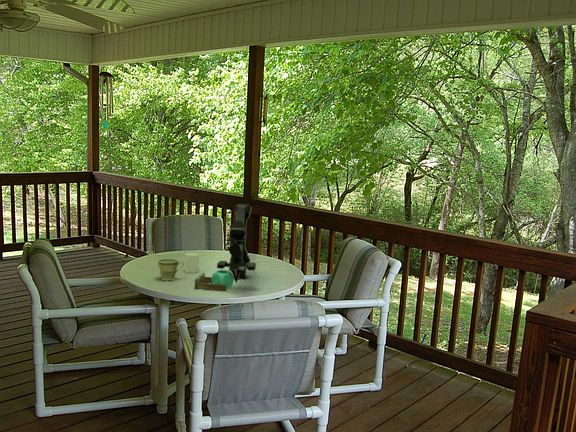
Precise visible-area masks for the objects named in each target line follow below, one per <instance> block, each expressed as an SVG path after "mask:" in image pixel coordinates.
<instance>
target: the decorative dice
mask: <svg viewBox="0 0 576 432" xmlns="http://www.w3.org/2000/svg"><path fill="white" fill-rule="evenodd" d="M211 277H212V278H211V281H212V284H223V285H227V289H226V290H229V289H230V288H232V286H233V285H234V282H235V280H234V276H233V274H232V272H231V271H229V270H226V269H217V270H215V271H214V272H213V273H212V275H211Z"/></svg>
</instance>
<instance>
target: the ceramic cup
mask: <svg viewBox="0 0 576 432" xmlns="http://www.w3.org/2000/svg"><path fill="white" fill-rule="evenodd" d="M157 262H158V267H159V272H160V278H161V281H163V280H172V281H174V280H175V277H176V274H177V272H179V271H180V269H181V268H183V267H185V262H183V261H179V260H178V259H176V258H161V259H158V261H157ZM179 264H182V266H181V267H179V268H178V266H179ZM173 279H174V280H173Z"/></svg>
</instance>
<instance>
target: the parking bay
mask: <svg viewBox="0 0 576 432" xmlns="http://www.w3.org/2000/svg"><path fill="white" fill-rule="evenodd" d="M211 278H212V276H205V272H201V273H200V274H199V275H197V277H195V279H194V290H199V289H203V290H202V291H212V290H213V291H215V292H227V290H228V289H227V285H223V284H212V281H211ZM209 283H210V284H209ZM213 291H212V292H213Z"/></svg>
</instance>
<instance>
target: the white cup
mask: <svg viewBox="0 0 576 432" xmlns="http://www.w3.org/2000/svg"><path fill="white" fill-rule="evenodd" d="M199 264H200V254H199V253H198V252H197V253H196V252H186V253H184V267H185V273H186V272H187V274H196V273H198V272H199Z"/></svg>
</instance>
